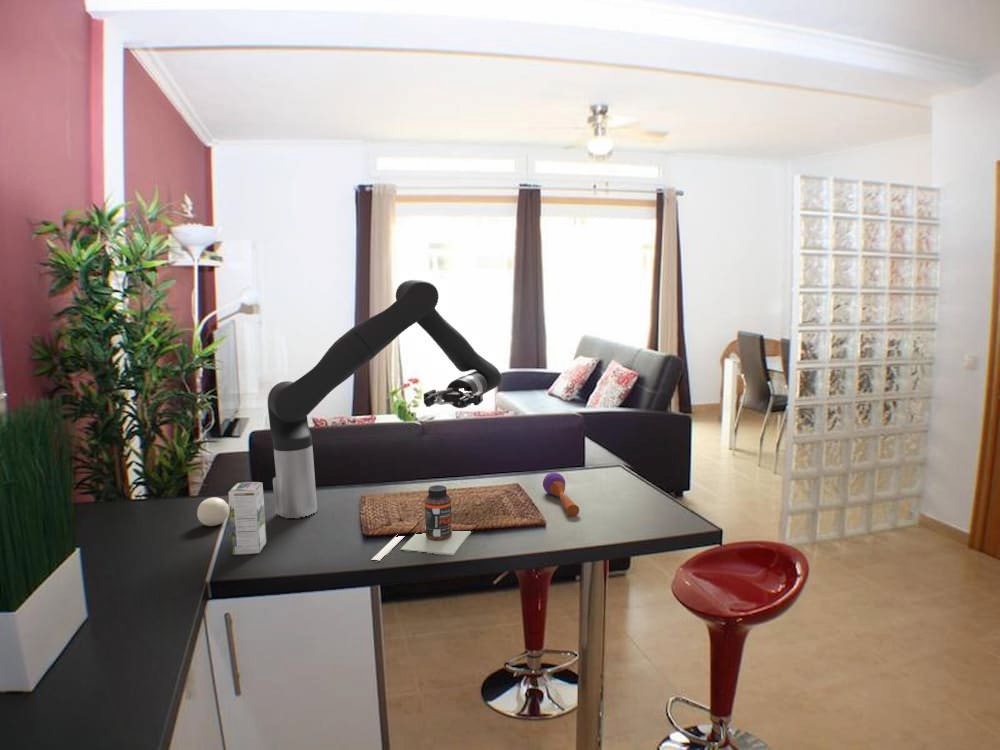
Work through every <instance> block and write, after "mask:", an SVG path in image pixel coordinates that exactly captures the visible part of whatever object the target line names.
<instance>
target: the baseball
mask: <svg viewBox="0 0 1000 750" xmlns="http://www.w3.org/2000/svg"><path fill="white" fill-rule="evenodd" d="M229 512H230V505H229V503H227V502H226V501H225V500H224V499H223V498H221V497H220V498H219V497H215V496H214V497H208V498H206V499H204V500H203V501H202V502H200V504H199V505H198V508H197V511H196V515H197V519H198V520H199V522H200V523H201V524H203V525H205V526H208V527H215V526H218V525H221V524H223V523H224V522H225V520H227V517H228V516H229Z"/></svg>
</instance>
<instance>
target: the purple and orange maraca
mask: <svg viewBox="0 0 1000 750" xmlns="http://www.w3.org/2000/svg"><path fill="white" fill-rule="evenodd" d="M542 488H543V489H544V491H545V493H547V494H548V495H550V496H551V495H552V496H554V497H559V498H560V501H561V502H562V506H563V509H564V511H565V513H566V516H568V518H571V517H577V516H578V515H579V513H580V508H579V506H578V505H577V504H575V502H574V501H573V500H571V498H569V497H568V496H567V495H566V494H565V490H566V480H565V478H564V476H563V475H562V474H561V473H558V472H550V473H548V474H546V475H545V476H544V479H543V480H542Z"/></svg>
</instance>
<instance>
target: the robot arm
mask: <svg viewBox="0 0 1000 750" xmlns="http://www.w3.org/2000/svg"><path fill="white" fill-rule="evenodd" d="M438 302H439V291H438V288H437V287H436V286H435V284H433V283H431V282H429V281H427V280H422V279H420V280H419V279H411V280H406V281H404V282H402V283H400V284H399V285H398V287H397V288H396V290H395V301H394V302H393V303H392V304H391V305H389V306H388V307H387V308H385V309H384V310H383V311H381V312H379V313H377V314H374V315H373V316H371V317H369V318H367V319H365V320H363V321H361V322H359V323H358V324H356V325H354V326H353V327H352V328H350V329H349V330H348V331H346V332H345V333H344V334H343V335H341V336H340V337H339V338H338V339H337V340H335V342H333V344H332V345H331V346H330V347H329V348H328V350H327V351H326V352H325V353H324V355H323V356H322V357H321V359H320V360H319V361H318V362H317V364H316V365H315V366H314V367H312V369H310V370H309V371H307V372H306V373H305V374H304V375H302V376H301V377H300V378H298V379H296V380H295V381H289V380H288V381H287V380H285V381H281V382H279V383H277V384H275V385H274V386H273V387H272V388H271V389H270V391H269V393H268V396H267V411H268V421H269V429H270V436H271V439H272V445H273V446H272V447H273V457H274V468H275V477H273V478H272V489H273V490H272V491H273V500H274V502H273V503H274V511H275V515H276V514H278V515H277V516H279V515H280V516H282V517H286V518H285V519H287V518H295V519H301V518H300V517H303V518H306V517H305V516H307V517H310V516H311V514H312V515H314V514H316V512H318V505H317V504H318V502H317V491H316V490H317V489H316V477H315V464H314V462H315V461H314V451H313V450H314V449H313V439H312V438H313V437H312V433H311V431H310V427H309V422H308V416H309V414H310V413H311V412H312V411H313V410H315V408H316V407H317V406H318V405H319V404H320V403H321V402H322V401H323V400H324V399H325V398H326V397H327V396H328V395H329V394H330V393H331V392H332V391H334V390H335V388H337V387H338V386H339V385H341V384H342V383H343V382H345V381H347V380H348V379H349V378H350V377H351V376H352V375H354V374H355V373H357V372H358V371H359V370H360V369H362V368H363V367H364V366H365V365H366V364H368V363H369V362H370V361H372V359H374V358H375V357H376V356H377V355H378V354H380V352H381V351H382V350H384V349H385V348H386V347H388V346H389V344H391V343H392V342H393V341H394V340H395V339H396V338H397V337H398V336H400V335H401V334H402V333H403V332H405V331H406V330H407V329H408V328H410V327H411V326H413V325H414V324H416V323H417V324H418V325H419V326H420V328H422V330H424V331H425V332H426V334H427V335H429V336H430V338H431V339H432V340H433V341H434V342H435V344H436V345H438V347H439V348H440V350H442V352H443V353H444V354H445V355H446V357H447V358H448V359H449V360H450V362H451V363H452V364H453V365H454V366H455V367H456V369H457V370H458V371H459V372H462V373H464V372H469V371H472V372H471V373H468V374H466V375H463V376H460V377H458V378H455V379H453V380H452V381H451V382H450V383H448V385H447V387H446V388H445V389H442V390H437V389H432V390H429V391H426V392H425V393H423V404H424V405H425V407H426V408H429V407H432V406H434V405H435V404H436V405H440V406H442V405H451V407H452V406H453V407H454V408H457V409H464V408H467V407H469V406H471V405H472V404H473V405H474V406H479V405H480V404H481V403H483V401H484V395H485V394H486V393H489V392H490V391H492V390H494V389H495V388H498V386H500V384H501V383H502V375H501V372H500V371H499V369H498V368H497V367H496V366H495V365H494V364H493V363H491V362H490V361H488V360H486V358H484V357H483V356H481V355H480V354H479V353H477V351H475V349H474V348H473V346H472V345H471V344H470V343H469V341H468V340H467V339H466V338H465V336H463V334H461V333H460V332H459V330H457V329H456V328H455V327H454V326H452V325H451V324H450V323H449V322H448V321H447V320H445V319H444V317H443V316H442V315H441V314H440V313H439V312H438V310H437V309H436V306H437V305H438ZM313 513H314V514H313ZM309 515H310V516H309ZM280 516H279V517H280ZM282 517H281V518H282Z"/></svg>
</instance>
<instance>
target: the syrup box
mask: <svg viewBox="0 0 1000 750" xmlns="http://www.w3.org/2000/svg"><path fill="white" fill-rule="evenodd" d="M263 483H264V482H259V481H243V482H238V483H236V484H235V485H234V486H233V487H232V488H231V489H230V490H229V491H228V500H229V501H228V502H229V503H228V506H229V517H230V531H231V543H232V544H231V545H232V555H234V556H236V555H237V556H238V555H252V554H260V553H261V552H262V550H263V548H264V547H265V546H266V545H267V543H268V542H267V541H268V540H267V530H266V529H267V528H266V516H265V515H266V514H265V513H266V511H265V498H264V487H263Z"/></svg>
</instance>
